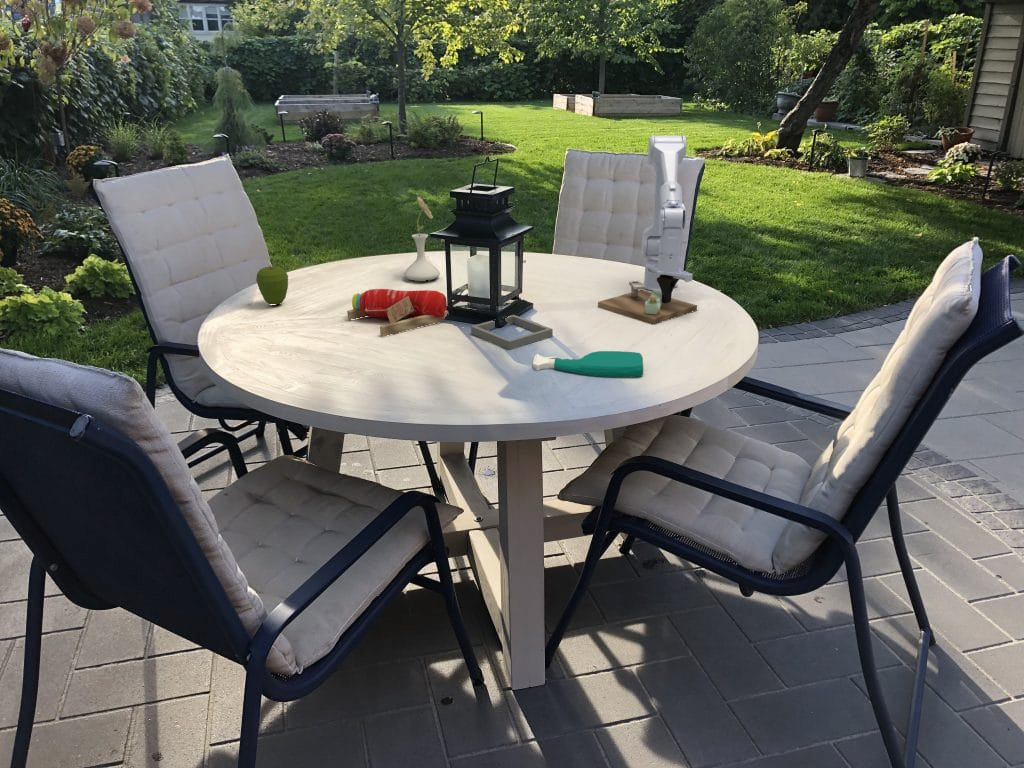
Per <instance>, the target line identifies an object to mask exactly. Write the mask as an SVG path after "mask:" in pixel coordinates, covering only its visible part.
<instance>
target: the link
mask: <svg viewBox="0 0 1024 768" xmlns="http://www.w3.org/2000/svg"><path fill="white" fill-rule="evenodd" d="M651 293H652V294H651V296H650V297H657V300H656V303H650V302H649V301H650V298H649V300H648V301H646V302H645V313H646V314H658V313H660V307H661V305H662V292H661V290H656V289H654V291H651Z"/></svg>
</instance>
